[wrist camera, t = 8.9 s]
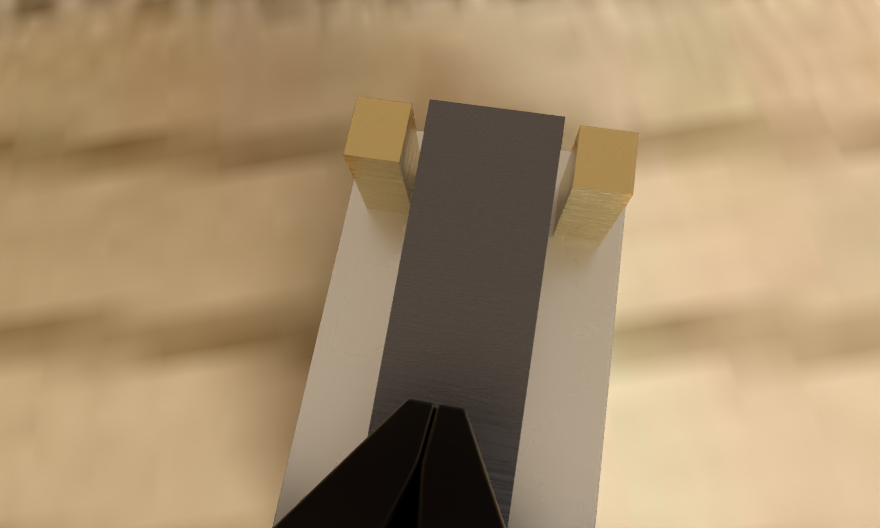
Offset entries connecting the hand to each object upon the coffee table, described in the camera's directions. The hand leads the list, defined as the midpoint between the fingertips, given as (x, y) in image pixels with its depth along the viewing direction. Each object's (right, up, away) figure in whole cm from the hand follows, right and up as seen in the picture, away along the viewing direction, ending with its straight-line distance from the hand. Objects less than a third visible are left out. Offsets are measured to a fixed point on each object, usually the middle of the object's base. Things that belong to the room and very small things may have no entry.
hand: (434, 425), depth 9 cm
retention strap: (-1, -5, +3) cm, 6 cm away
